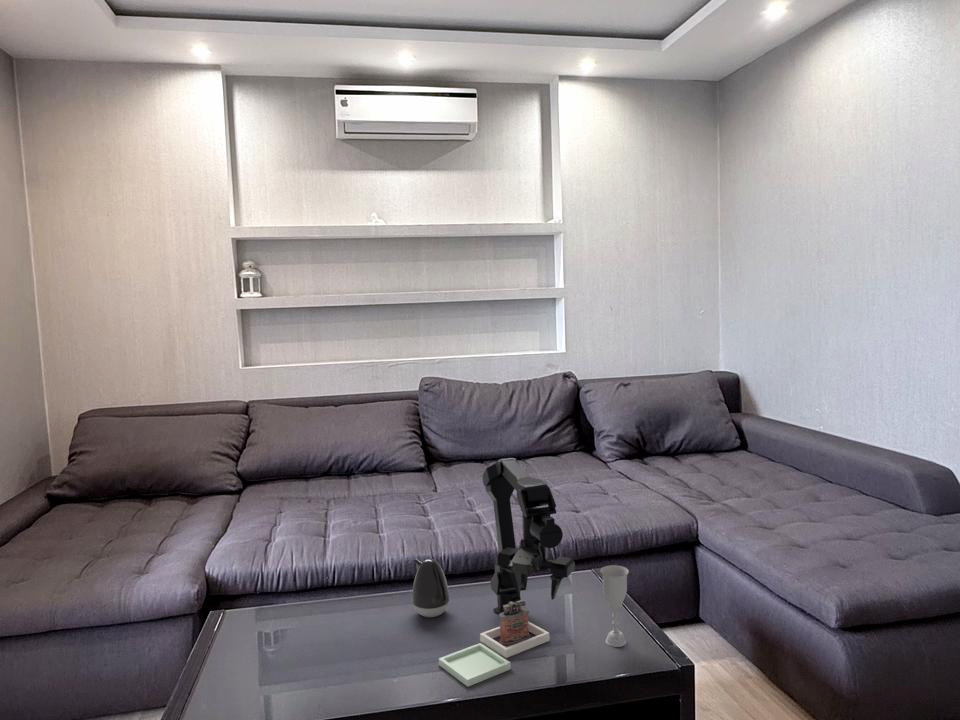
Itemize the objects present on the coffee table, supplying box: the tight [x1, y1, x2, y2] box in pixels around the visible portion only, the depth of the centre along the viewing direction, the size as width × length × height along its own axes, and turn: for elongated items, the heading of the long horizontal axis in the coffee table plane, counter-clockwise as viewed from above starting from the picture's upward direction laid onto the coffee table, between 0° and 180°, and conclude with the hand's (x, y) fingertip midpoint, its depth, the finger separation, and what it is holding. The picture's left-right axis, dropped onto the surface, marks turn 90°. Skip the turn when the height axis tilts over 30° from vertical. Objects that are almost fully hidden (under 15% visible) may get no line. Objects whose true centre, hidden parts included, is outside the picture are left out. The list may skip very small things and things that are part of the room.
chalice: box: [600, 564, 629, 648], centre depth 173 cm, size 7×7×18 cm
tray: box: [438, 642, 512, 687], centre depth 164 cm, size 12×12×2 cm
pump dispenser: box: [411, 558, 450, 618], centre depth 193 cm, size 10×10×15 cm
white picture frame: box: [479, 620, 550, 659], centre depth 176 cm, size 11×14×2 cm
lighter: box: [498, 599, 530, 648], centre depth 175 cm, size 8×3×10 cm, turn 117°
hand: (535, 595), depth 173 cm, fingers open, 9 cm apart
